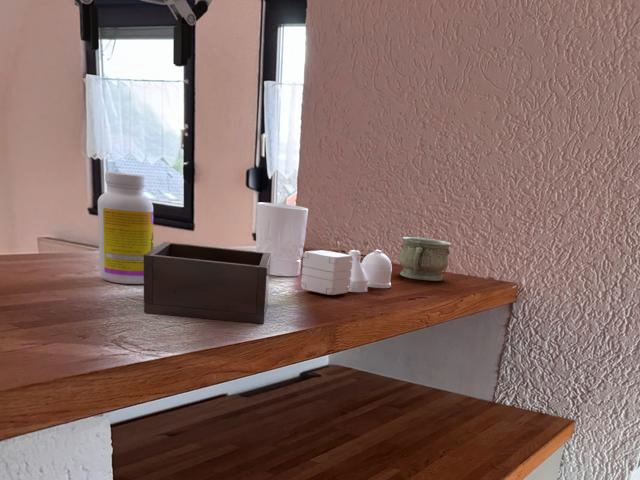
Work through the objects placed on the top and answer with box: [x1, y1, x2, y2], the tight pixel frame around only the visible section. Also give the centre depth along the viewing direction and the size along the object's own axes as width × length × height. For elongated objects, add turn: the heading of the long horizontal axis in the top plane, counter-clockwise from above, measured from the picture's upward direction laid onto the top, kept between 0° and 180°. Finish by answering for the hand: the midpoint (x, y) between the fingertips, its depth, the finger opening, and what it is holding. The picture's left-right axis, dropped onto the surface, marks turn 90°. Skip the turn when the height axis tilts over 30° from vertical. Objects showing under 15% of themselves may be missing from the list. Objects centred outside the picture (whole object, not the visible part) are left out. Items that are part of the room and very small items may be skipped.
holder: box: [143, 241, 271, 325], centre depth 84 cm, size 13×13×6 cm
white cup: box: [255, 201, 309, 277], centre depth 113 cm, size 8×8×10 cm
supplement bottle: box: [97, 170, 154, 285], centre depth 92 cm, size 7×7×13 cm
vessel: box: [398, 236, 452, 282], centre depth 128 cm, size 12×9×6 cm
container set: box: [300, 249, 393, 296], centre depth 107 cm, size 20×5×6 cm, turn 151°
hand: (137, 58), depth 81 cm, fingers open, 9 cm apart
